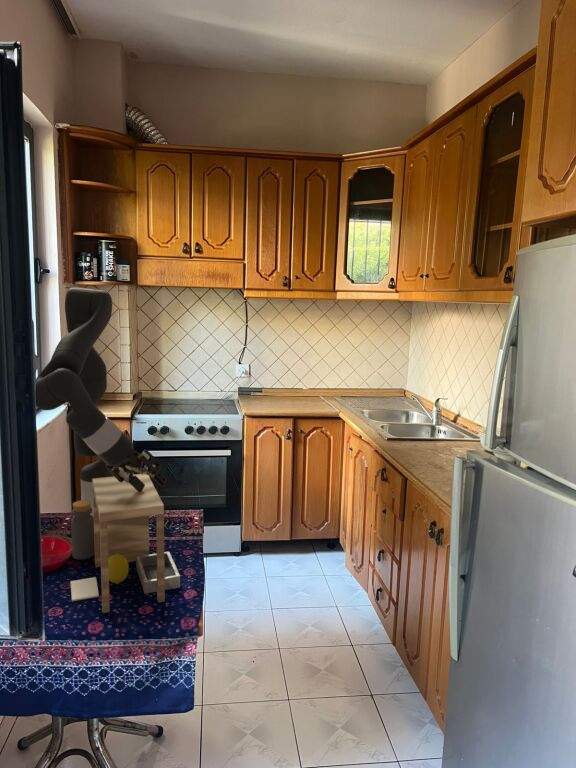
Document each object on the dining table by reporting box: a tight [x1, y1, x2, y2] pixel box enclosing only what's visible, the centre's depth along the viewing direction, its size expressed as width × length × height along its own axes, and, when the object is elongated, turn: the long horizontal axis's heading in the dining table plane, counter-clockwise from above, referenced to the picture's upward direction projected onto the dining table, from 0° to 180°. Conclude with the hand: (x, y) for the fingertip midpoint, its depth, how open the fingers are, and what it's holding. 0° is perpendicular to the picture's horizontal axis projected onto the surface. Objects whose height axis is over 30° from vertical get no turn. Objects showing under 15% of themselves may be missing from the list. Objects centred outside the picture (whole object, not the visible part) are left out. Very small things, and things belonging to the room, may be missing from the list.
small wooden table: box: [92, 473, 166, 614], centre depth 137 cm, size 24×14×24 cm, turn 23°
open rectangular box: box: [135, 551, 181, 595], centre depth 142 cm, size 14×9×3 cm, turn 23°
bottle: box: [70, 500, 95, 560], centre depth 151 cm, size 6×6×15 cm
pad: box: [70, 576, 100, 602], centre depth 135 cm, size 9×6×1 cm, turn 23°
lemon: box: [108, 554, 130, 585], centre depth 137 cm, size 6×6×8 cm
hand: (153, 486), depth 133 cm, fingers open, 8 cm apart
